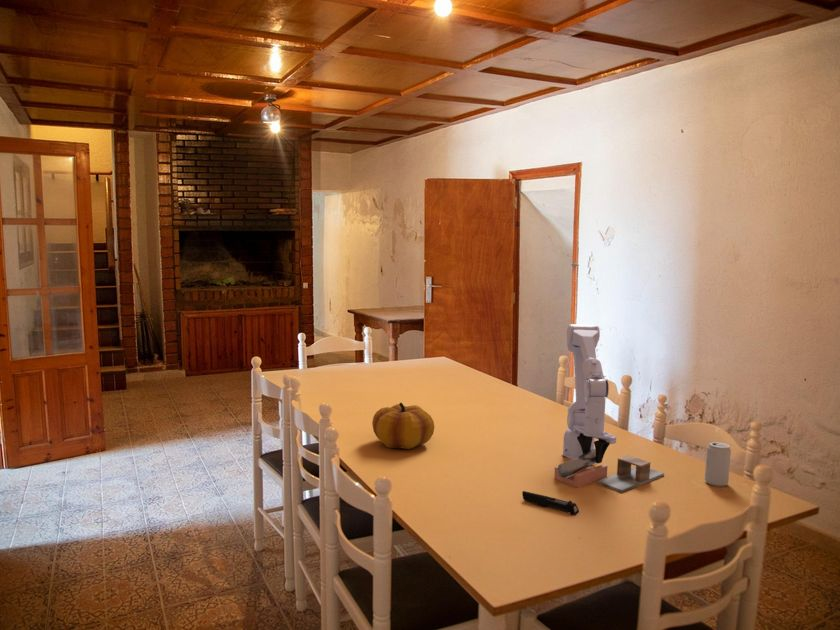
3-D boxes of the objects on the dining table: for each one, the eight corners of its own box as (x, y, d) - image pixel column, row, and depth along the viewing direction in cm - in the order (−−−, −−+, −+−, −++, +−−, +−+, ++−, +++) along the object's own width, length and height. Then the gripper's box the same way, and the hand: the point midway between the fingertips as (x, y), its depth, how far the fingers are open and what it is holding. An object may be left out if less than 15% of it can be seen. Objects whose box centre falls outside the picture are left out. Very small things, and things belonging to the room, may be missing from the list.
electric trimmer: (525, 499, 179) (525, 488, 179) (579, 512, 171) (579, 500, 170) (519, 503, 176) (520, 492, 176) (574, 517, 168) (574, 505, 167)
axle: (568, 479, 187) (568, 466, 187) (557, 475, 190) (557, 462, 190) (602, 463, 197) (601, 450, 196) (591, 459, 200) (591, 447, 199)
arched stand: (596, 483, 190) (597, 464, 189) (639, 467, 204) (640, 450, 203) (621, 492, 183) (622, 473, 183) (663, 475, 197) (665, 457, 196)
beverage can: (708, 477, 196) (710, 439, 195) (730, 483, 192) (733, 444, 190) (701, 483, 191) (704, 444, 190) (724, 489, 187) (727, 449, 186)
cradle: (554, 478, 193) (554, 467, 193) (583, 468, 202) (584, 457, 202) (577, 487, 187) (578, 476, 186) (606, 476, 195) (607, 465, 195)
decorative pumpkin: (428, 456, 212) (429, 411, 210) (363, 451, 216) (364, 407, 214) (439, 437, 231) (439, 396, 229) (379, 433, 235) (379, 393, 234)
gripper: (567, 414, 199) (565, 456, 200) (607, 425, 188) (604, 470, 189) (581, 410, 203) (579, 452, 205) (621, 421, 192) (619, 465, 194)
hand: (592, 460), depth 197 cm, fingers closed on axle, 4 cm apart
